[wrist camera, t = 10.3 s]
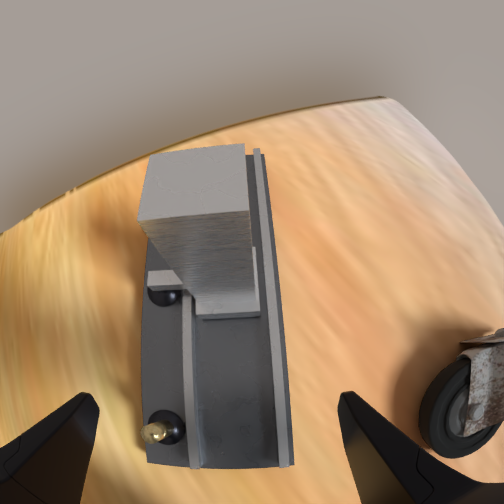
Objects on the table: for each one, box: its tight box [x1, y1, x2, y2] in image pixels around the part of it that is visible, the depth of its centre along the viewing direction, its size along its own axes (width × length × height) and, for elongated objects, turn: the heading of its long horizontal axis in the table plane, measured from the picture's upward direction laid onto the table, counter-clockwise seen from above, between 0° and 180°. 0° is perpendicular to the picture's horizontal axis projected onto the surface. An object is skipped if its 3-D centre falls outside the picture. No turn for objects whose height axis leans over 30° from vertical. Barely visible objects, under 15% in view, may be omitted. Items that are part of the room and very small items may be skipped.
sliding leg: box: [137, 144, 260, 319], centre depth 14 cm, size 4×7×11 cm, turn 94°
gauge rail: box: [141, 148, 294, 469], centre depth 19 cm, size 26×10×4 cm, turn 4°
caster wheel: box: [419, 328, 504, 459], centre depth 13 cm, size 7×11×10 cm
